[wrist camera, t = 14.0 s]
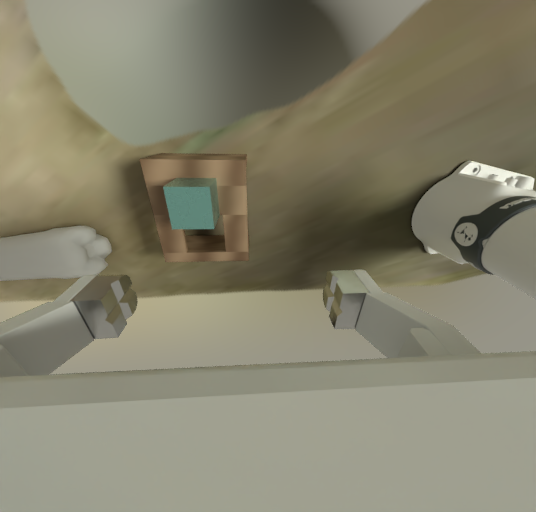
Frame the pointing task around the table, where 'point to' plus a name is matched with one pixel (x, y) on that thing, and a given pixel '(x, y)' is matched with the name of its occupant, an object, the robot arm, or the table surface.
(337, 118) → the table surface
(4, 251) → the bottle
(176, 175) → the tan hollow wooden block
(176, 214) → the teal stemmed block
